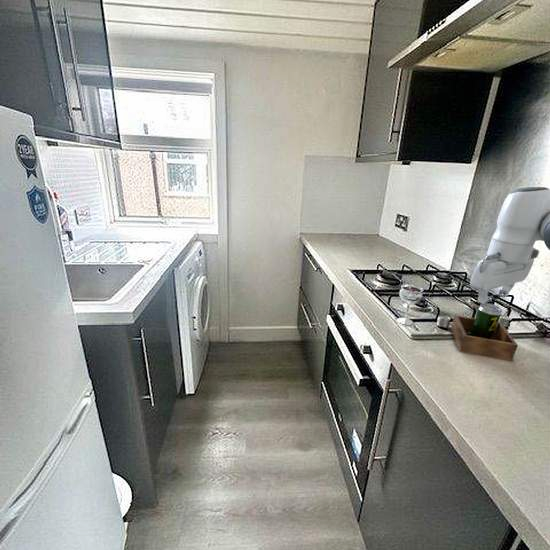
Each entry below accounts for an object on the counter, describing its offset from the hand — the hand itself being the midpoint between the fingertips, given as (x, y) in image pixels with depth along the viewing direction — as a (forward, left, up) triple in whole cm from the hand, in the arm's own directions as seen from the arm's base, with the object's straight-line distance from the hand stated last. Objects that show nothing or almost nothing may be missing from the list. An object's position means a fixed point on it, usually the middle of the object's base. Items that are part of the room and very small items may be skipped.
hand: (492, 299), depth 83 cm
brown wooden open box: (0, 0, -14) cm, 14 cm away
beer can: (0, 0, -15) cm, 15 cm away
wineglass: (+20, -6, -15) cm, 25 cm away
